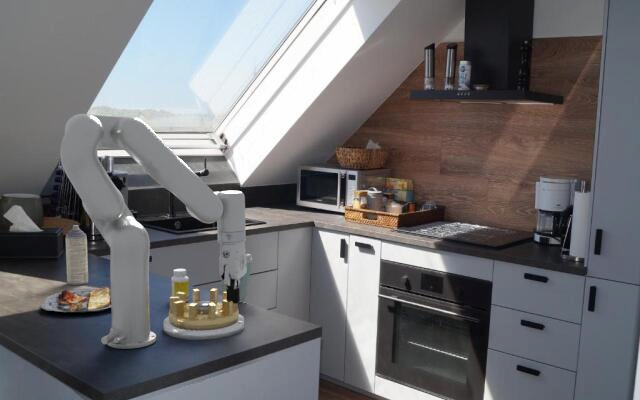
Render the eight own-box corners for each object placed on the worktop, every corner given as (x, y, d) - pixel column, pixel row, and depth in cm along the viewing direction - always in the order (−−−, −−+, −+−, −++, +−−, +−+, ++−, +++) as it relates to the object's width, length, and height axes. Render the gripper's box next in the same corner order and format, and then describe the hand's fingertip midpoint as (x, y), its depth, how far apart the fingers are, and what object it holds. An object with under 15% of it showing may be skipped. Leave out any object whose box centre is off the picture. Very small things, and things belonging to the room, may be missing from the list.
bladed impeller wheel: (157, 327, 191) (157, 303, 190) (184, 307, 209) (184, 286, 208) (225, 332, 187) (225, 308, 186) (247, 312, 206) (247, 290, 205)
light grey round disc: (219, 344, 184) (219, 335, 184) (147, 333, 192) (147, 325, 192) (257, 320, 205) (257, 313, 204) (190, 312, 213) (190, 305, 212)
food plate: (50, 295, 229) (50, 285, 229) (125, 293, 234) (125, 282, 233) (36, 320, 205) (36, 309, 204) (121, 317, 210) (120, 305, 209)
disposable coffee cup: (212, 299, 227) (212, 252, 225) (242, 294, 234) (242, 248, 232) (229, 306, 219) (228, 258, 217) (259, 301, 225) (259, 254, 223)
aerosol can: (87, 280, 250) (85, 223, 248) (88, 284, 244) (86, 226, 241) (67, 281, 248) (64, 224, 245) (67, 286, 242) (65, 227, 239)
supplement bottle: (192, 300, 226) (192, 269, 224) (178, 303, 222) (177, 272, 220) (182, 297, 229) (181, 267, 228) (167, 300, 225) (167, 269, 224)
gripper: (236, 242, 186) (237, 311, 188) (252, 232, 200) (254, 295, 203) (208, 241, 187) (210, 309, 190) (227, 231, 202) (228, 294, 204)
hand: (233, 302), depth 196 cm, fingers closed
